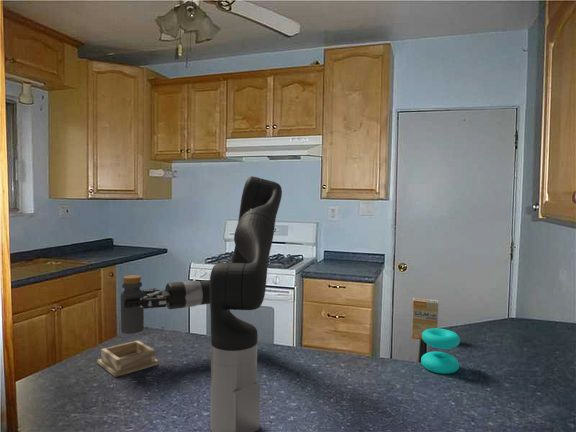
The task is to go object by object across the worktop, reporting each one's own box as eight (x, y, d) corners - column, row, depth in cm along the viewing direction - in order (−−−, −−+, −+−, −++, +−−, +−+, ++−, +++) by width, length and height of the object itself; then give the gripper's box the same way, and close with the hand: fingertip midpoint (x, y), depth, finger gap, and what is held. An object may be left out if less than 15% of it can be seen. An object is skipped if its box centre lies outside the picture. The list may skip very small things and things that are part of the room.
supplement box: (411, 339, 140) (412, 300, 139) (411, 334, 144) (412, 297, 144) (437, 341, 137) (438, 302, 137) (436, 337, 142) (437, 299, 141)
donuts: (414, 329, 118) (439, 325, 123) (413, 364, 118) (438, 358, 123) (442, 340, 109) (468, 335, 114) (440, 378, 110) (467, 371, 114)
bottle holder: (158, 364, 115) (158, 350, 115) (115, 377, 107) (115, 361, 107) (139, 352, 124) (139, 339, 124) (97, 363, 115) (97, 348, 115)
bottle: (120, 328, 117) (120, 275, 116) (142, 326, 119) (142, 274, 119) (121, 335, 112) (121, 279, 111) (144, 332, 114) (144, 277, 113)
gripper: (177, 277, 128) (118, 282, 120) (190, 286, 116) (126, 292, 107) (177, 301, 128) (118, 308, 120) (190, 313, 116) (126, 321, 108)
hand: (122, 301), depth 114 cm, fingers closed on bottle, 5 cm apart
